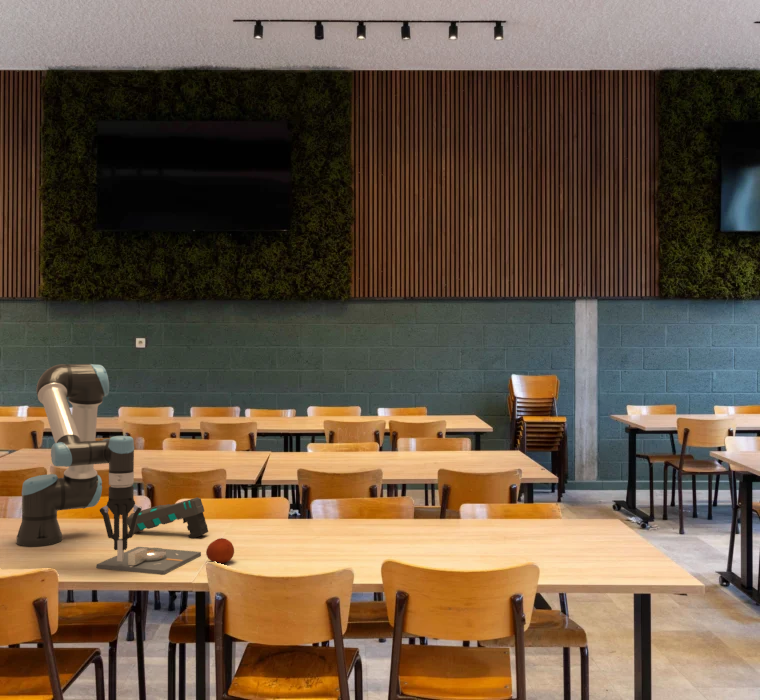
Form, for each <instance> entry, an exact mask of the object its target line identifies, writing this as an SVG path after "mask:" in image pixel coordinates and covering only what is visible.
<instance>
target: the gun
mask: <svg viewBox="0 0 760 700" xmlns="http://www.w3.org/2000/svg"><path fill="white" fill-rule="evenodd" d="M204 512H205V508H204V505H203V502H202V499H201V497H198V496H196V497H194V498H191V499H187V500H182V501H180V502H177V503H172V504H169V503H168V504H159V505H156V506H155V505H154V506H151V507H148V508H145V509H143V510H141V511H140V513H139V515H138V519H137V523H136V527H135V531H134V534H136V533H140V532H143V531H144V530H145V529H146V530H148V529H153V528H156V527H158V526H160V525H167V524H171V523H173V522H175V520H182V524H186V523H187V526H186V528H187V531H189V534H188V535H187V536H188V539H194V538H197V537H201V536H203V535H205V534H207V533H209V530H208V524H207V521H206V517H205V514H204ZM134 513H135V512H132V513H130V514H129V515H128V530H130V527H131V523H132V519H133V515H134Z"/></svg>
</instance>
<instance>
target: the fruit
mask: <svg viewBox="0 0 760 700" xmlns="http://www.w3.org/2000/svg"><path fill="white" fill-rule="evenodd" d="M205 552H206V554H205V555H206V557H207V559H208V560H210V561H211V562H212V561H216V562H219V563H218V564H226V563H228V562H229V561H231V560H232V559H233V557H234V554H235V548H234V544H232V542H231V541H230V540H229V539H227V538H222V537H220V538H217V539H215V540H213V541H211V542H210V543H209V544H208V546H207V547H206V550H205Z"/></svg>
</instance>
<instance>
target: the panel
mask: <svg viewBox="0 0 760 700" xmlns="http://www.w3.org/2000/svg"><path fill="white" fill-rule="evenodd" d="M139 548H149V547H146V546H136V547H134V548H132V549H129V550H126V551H124V559H123V561H117V555H116V556H113V557H110V558H108V559H106V560H104V561H101V562H99V563H96V569H102V570H103V569H104V570H111V571H124V572H133V573H134V572H135V573H145V574H154V575H155V574H156V575H166V574H167V573H169V572H171V571H173V570H175V569H177V568H179V567H181V566H183V565H185V564H187V563H189V562H191V561H194V560H195V559H196V558H198V557H202V556H201V555H202V552H201V551H196V550H195V551H194V550H180V549H171V548H169V549H168V548H164V549H165V550H166V558H165V559H162V560H159V561H151V562H141V563H139V564H137V565H128V553H130V552H133V551H135V550H137V549H139Z"/></svg>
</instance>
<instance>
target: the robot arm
mask: <svg viewBox="0 0 760 700" xmlns="http://www.w3.org/2000/svg"><path fill="white" fill-rule="evenodd" d="M109 392H110V381H109V375H108V373H107V369H106V368H105V367H104V366H103V365H102V364H92V363H80V364H79V363H77V364H75V363H74V364H72V363H71V364H65V363H61V364H56V365H53V366H51V367H49V368H48V369H46V370H45V371H44V372H43V373H42V374H41V376H40V377H39V379H38V380H37V384H36V396H37V399H38V401H39V402H40V404H42V405H43V409H44V411H45V414H46V417H47V420H48V424H49V427H50V431H51V434H52V437H53V441H54V443H53V444H52V446H51V448H50V458H51V459H50V460H51V463H52V465H53V466H54V467H67V468H66V469H65V470H64V472H63V477H58V475H57V474H54V473H51V474H42V475H36V476H32V477H30V478H27V479H25V480H24V481H23V483H22V487H21V488H22V489H21V499H22V500H21V523H20V526H19V529H18V533H17V535H16V537H15V538H16V541H15V542H16V544H17V545H19V546H22V547H41V546H49V545H54V544H57V543H60V542H62V541H63V533H62V531H61V527H60V525H59V521H58V511H67V510H77V509H86V508H93V507H95V506H96V505H98V503H99V502H100V500H101V496H102V491H103V486H102V485H103V480H102V477H101V476H100V475H99V474H98V471H97V470H96V469H95V467H94V465H102V464H103V465H104V464H108V485H109V487H108V501H107V502H106V505H104V506H102V507H100V509H99V512H100V514H101V516H102V518H103V522H104V526H105V531H106V534H107V538H108V539H111V540H113V550H114V551H117V555H116V556H117V561H123V559H124V552H125V551H127V549H128V539H131V538H133V537H134V534H135V533H134V531H135V527H136V523H137V519H138V515H139V513H140V511H142V509H143V507H142V506H139V505H137V504H136V501H135V500H134V499H135V498H134V494H135V493H134V492H135V491H134V486H133V485H134V484H135V481H134V480H135V478H134V477H135V476H134V475H135V474H134V473H135V472H134V468H135V467H134V466H135V456H134V455H135V441H134V438H133V437H132V436H129V435H128V436H127V435H116V436H111V437H110V438H106V439H105V438H104V439H102V440H96V436H97V423H98V419H97V418H98V408H99V405H101V404H102V403H103V401H104V400H103V398H104V397H108V395H109ZM67 398H68V399H67ZM68 402H69V403H68ZM70 404H71V405H72V407H71V408H72V410H71V408H70ZM132 510H133V513H134V515H133V519H132V523H131V527H130V529H129V527H128V517H129V514H130V512H131V511H132ZM109 511H110V512H111V513H112V514H113V528H112V524H111V520H110V515H109ZM120 518H121V520H122V525H121V526H122V530H121V531H122V532H121V535H122V538H120Z"/></svg>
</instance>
